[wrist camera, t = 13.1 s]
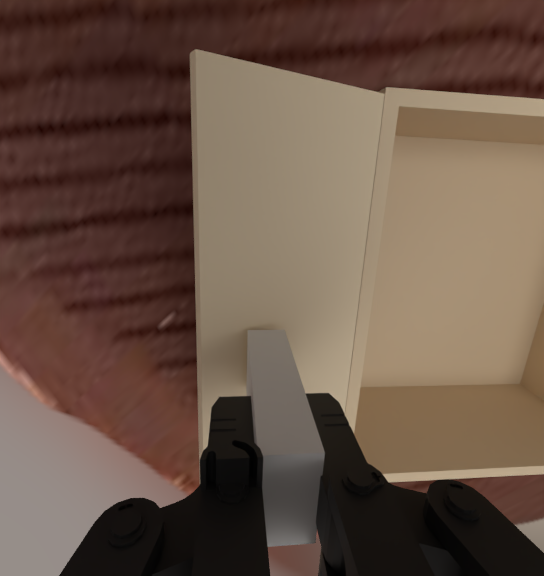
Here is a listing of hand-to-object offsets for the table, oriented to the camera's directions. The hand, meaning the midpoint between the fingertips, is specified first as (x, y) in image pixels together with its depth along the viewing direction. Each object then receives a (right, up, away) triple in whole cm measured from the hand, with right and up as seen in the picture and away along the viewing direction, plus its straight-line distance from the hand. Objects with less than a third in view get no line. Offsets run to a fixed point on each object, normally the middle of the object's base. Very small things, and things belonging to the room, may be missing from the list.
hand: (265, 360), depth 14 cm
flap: (+5, +1, +4) cm, 7 cm away
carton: (+14, +4, +15) cm, 21 cm away
